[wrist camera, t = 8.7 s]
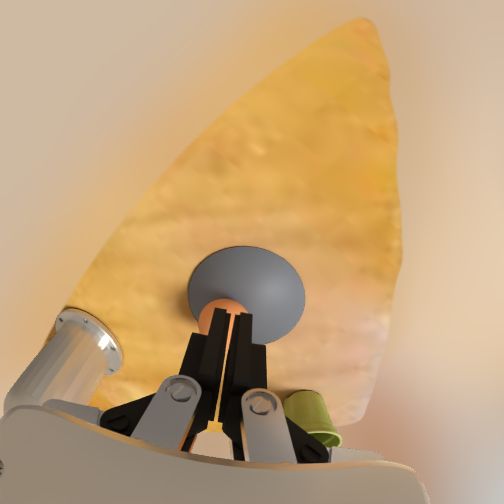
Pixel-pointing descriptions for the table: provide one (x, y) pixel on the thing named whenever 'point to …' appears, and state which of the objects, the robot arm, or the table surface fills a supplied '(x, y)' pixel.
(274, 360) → the table surface
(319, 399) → the plant pot
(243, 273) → the disc
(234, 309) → the ball
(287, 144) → the table surface
